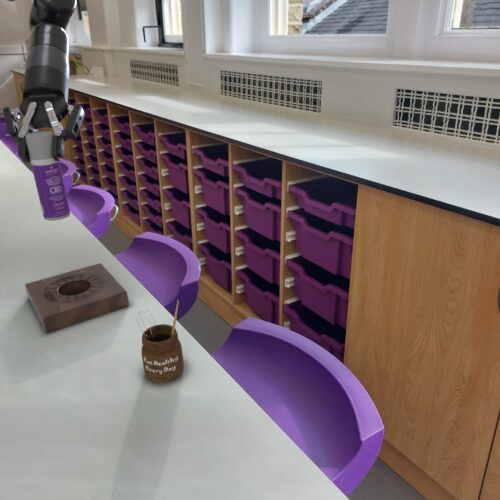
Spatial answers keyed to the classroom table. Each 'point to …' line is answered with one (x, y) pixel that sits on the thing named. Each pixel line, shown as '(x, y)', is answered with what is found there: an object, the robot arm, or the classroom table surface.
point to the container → (47, 176)
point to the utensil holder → (161, 352)
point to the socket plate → (76, 297)
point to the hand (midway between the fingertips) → (40, 159)
